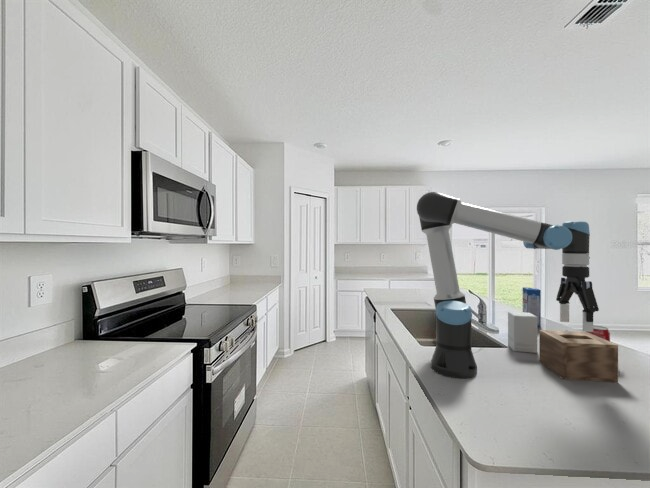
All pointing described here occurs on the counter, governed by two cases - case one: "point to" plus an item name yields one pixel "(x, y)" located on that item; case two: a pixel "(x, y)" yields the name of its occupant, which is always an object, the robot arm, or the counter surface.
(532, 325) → the supplement box
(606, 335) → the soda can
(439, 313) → the robot arm
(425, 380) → the counter surface
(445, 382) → the counter surface
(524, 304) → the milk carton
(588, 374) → the coin box
